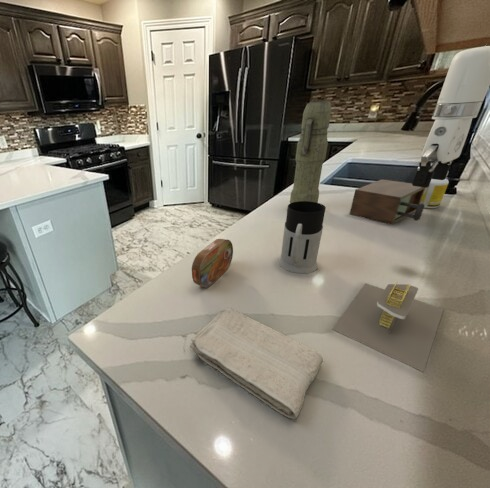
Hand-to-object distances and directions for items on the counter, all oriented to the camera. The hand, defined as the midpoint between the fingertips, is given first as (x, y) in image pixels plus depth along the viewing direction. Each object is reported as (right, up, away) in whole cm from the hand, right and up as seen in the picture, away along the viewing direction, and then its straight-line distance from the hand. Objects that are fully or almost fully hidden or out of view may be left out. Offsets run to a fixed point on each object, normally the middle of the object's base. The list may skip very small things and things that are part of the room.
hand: (428, 182), depth 69 cm
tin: (-59, -24, -6) cm, 64 cm away
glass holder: (-39, -23, -7) cm, 46 cm away
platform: (-30, -30, -23) cm, 48 cm away
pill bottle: (+17, -4, +18) cm, 25 cm away
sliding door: (+2, -9, +8) cm, 12 cm away
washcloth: (-56, -35, -27) cm, 72 cm away
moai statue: (-20, -4, +26) cm, 33 cm away
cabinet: (+1, -6, +16) cm, 17 cm away
